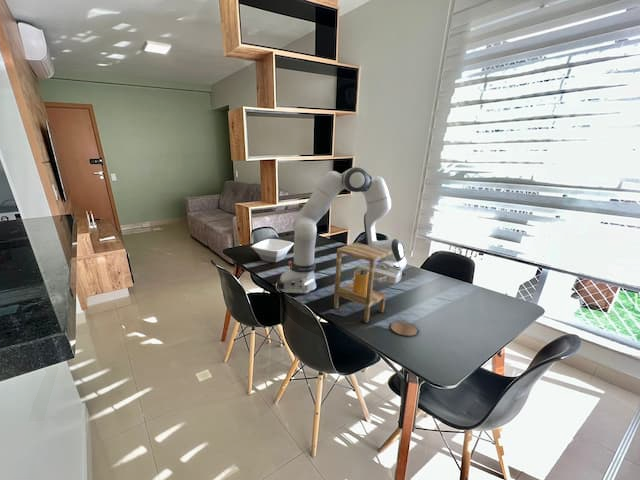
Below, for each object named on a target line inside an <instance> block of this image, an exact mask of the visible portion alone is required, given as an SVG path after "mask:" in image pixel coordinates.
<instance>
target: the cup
mask: <svg viewBox="0 0 640 480" xmlns="http://www.w3.org/2000/svg"><path fill="white" fill-rule="evenodd" d="M368 276H369V272H368V271H366V270H358V269H356V270H354V271H353V280H352V281H353V292H355V293H357V294H360V295H362V296H365V295H366V294H367V285H368Z"/></svg>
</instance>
